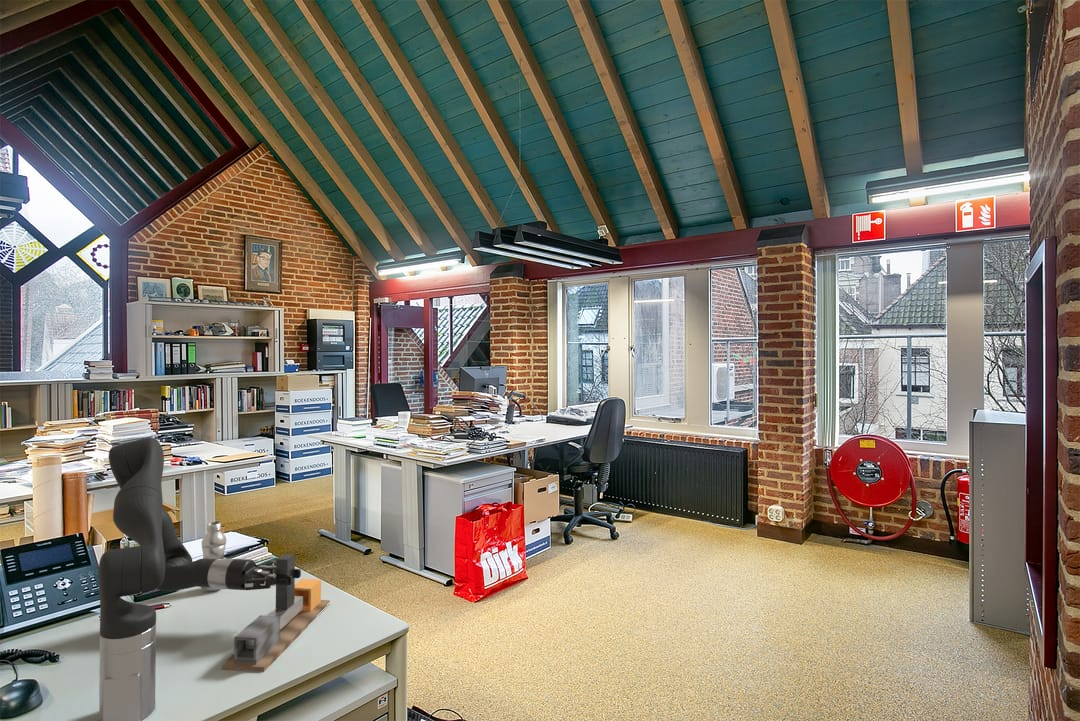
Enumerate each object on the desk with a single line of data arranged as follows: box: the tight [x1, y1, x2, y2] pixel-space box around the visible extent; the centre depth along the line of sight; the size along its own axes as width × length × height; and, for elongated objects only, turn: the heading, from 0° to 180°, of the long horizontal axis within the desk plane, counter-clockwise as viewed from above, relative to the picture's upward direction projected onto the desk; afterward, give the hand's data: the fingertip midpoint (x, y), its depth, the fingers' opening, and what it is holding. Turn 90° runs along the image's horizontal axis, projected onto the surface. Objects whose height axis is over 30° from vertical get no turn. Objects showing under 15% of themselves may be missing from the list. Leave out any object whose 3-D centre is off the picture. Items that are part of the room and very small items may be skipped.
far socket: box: [294, 578, 322, 612], centre depth 167 cm, size 6×6×6 cm
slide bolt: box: [245, 553, 303, 649], centre depth 150 cm, size 22×3×16 cm, turn 176°
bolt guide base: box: [220, 599, 331, 673], centre depth 153 cm, size 36×10×7 cm, turn 176°
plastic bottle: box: [200, 521, 227, 592], centre depth 179 cm, size 6×7×20 cm
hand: (295, 577), depth 154 cm, fingers closed on slide bolt, 4 cm apart
